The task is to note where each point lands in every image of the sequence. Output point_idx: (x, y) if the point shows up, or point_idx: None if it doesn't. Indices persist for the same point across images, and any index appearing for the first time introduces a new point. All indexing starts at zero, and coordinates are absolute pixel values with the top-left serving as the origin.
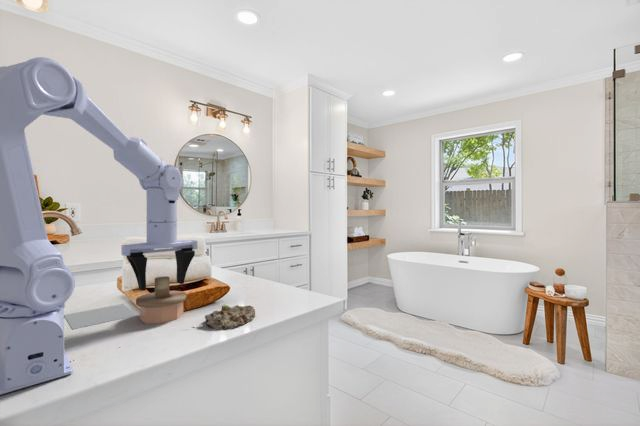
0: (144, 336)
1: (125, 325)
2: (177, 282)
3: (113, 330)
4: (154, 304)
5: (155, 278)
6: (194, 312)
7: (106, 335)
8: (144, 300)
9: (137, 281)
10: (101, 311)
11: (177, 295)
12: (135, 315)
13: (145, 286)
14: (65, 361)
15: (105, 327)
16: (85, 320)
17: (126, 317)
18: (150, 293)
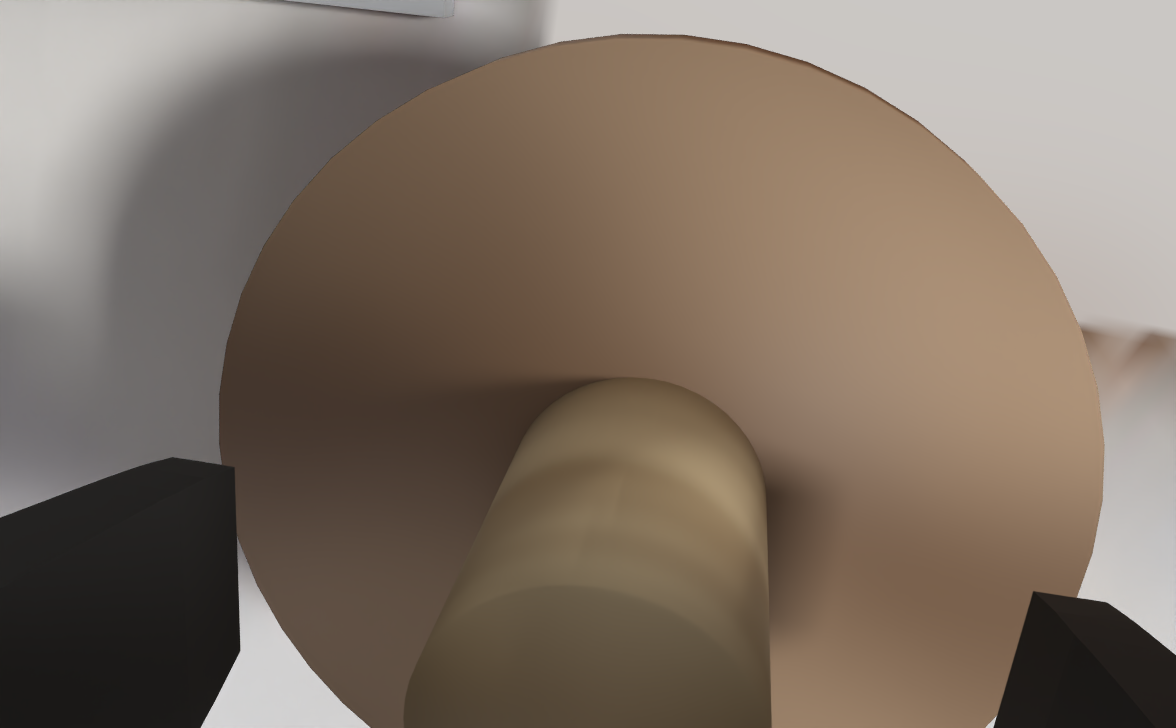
0: (307, 681)
1: (249, 215)
2: (1031, 610)
3: (109, 275)
4: (386, 725)
5: (429, 684)
6: (1107, 466)
7: (30, 367)
8: (325, 480)
9: (45, 509)
10: None
11: (860, 637)
12: (422, 7)
13: (196, 713)
14: None
15: (51, 87)
16: None
17: (298, 1)
18: (594, 81)
